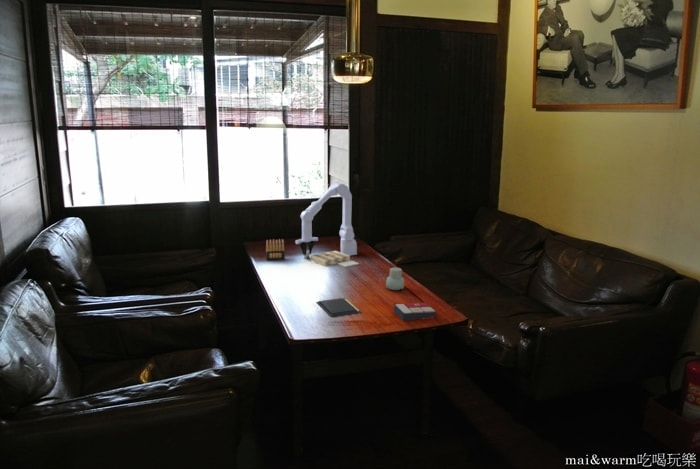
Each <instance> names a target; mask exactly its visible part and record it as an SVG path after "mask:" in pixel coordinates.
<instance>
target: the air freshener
mask: <svg viewBox="0 0 700 469" xmlns="http://www.w3.org/2000/svg"><path fill="white" fill-rule="evenodd" d="M402 271H403V269H402V268H400V267H391V268H389V276H387V277H386V282H385V287H386V288H387V289H389V290H391V291H400V289H401V290H403V289H404V287H405V278H404V277H402V276H403V274H402Z"/></svg>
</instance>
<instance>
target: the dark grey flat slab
mask: <svg viewBox="0 0 700 469" xmlns="http://www.w3.org/2000/svg"><path fill="white" fill-rule="evenodd" d="M315 303H316V304H317V305H318V307H320V308H321V309H322V310H323V311H324V312H325V313H326V315H328V316H329V317H330V318H339V316H340V317H346V316H345V315H347V316H353V315H352V314H354V315H358V313H360V314H363V312H362V310H361V309H359V308H357V307H356V306H355V305H354V304H353V303H352V302H350V301H349V299H347V298H346V297H345V298H343V297H339V298H332V299H324V300H318V301H316V302H315Z"/></svg>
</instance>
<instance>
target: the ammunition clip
mask: <svg viewBox="0 0 700 469" xmlns="http://www.w3.org/2000/svg"><path fill="white" fill-rule="evenodd" d="M265 243H266V244H265V253H266V254H265V260H266V261H274V260H279V259H280V260H285V258H286V257H285V256H286V255H285V241H284V239H283V238H282V239H281V238H279V239H276V240H275V238H273V239H269V240H268V239H266V242H265Z"/></svg>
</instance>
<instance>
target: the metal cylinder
mask: <svg viewBox="0 0 700 469" xmlns="http://www.w3.org/2000/svg"><path fill="white" fill-rule="evenodd" d="M310 255H311V254H310V251H309V246H307V247H306V255H304V256H303V257H304V259H305V260H308V259H309V260H310Z"/></svg>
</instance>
